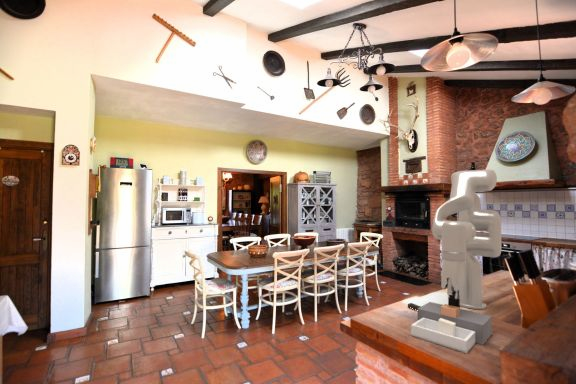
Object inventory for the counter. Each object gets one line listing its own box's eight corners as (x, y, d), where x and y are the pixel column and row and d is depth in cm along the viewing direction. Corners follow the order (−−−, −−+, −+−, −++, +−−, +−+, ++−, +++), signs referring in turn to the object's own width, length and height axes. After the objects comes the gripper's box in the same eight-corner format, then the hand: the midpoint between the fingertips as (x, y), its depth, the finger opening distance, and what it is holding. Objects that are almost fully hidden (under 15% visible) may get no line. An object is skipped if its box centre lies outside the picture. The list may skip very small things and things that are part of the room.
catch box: (422, 327, 104) (423, 317, 104) (475, 343, 93) (475, 331, 93) (411, 335, 97) (411, 324, 97) (466, 353, 85) (466, 341, 86)
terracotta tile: (445, 311, 104) (445, 304, 104) (459, 314, 100) (459, 307, 101) (441, 314, 100) (440, 306, 101) (455, 318, 97) (455, 310, 97)
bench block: (429, 317, 114) (429, 301, 114) (491, 334, 100) (491, 316, 100) (417, 325, 105) (417, 308, 106) (483, 345, 91) (483, 325, 92)
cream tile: (440, 317, 99) (438, 319, 97) (455, 323, 96) (453, 325, 94) (439, 331, 99) (437, 333, 97) (454, 336, 96) (452, 339, 94)
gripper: (448, 253, 112) (449, 303, 111) (435, 257, 102) (435, 311, 101) (471, 256, 107) (471, 308, 106) (459, 260, 97) (459, 317, 95)
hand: (453, 309), depth 103 cm, fingers closed
